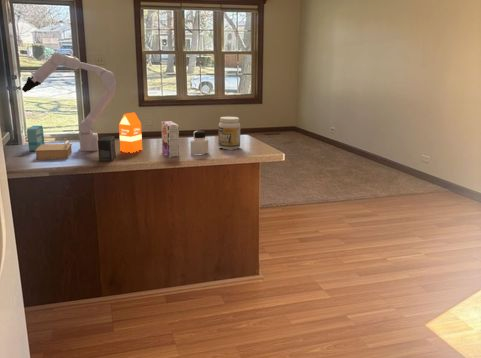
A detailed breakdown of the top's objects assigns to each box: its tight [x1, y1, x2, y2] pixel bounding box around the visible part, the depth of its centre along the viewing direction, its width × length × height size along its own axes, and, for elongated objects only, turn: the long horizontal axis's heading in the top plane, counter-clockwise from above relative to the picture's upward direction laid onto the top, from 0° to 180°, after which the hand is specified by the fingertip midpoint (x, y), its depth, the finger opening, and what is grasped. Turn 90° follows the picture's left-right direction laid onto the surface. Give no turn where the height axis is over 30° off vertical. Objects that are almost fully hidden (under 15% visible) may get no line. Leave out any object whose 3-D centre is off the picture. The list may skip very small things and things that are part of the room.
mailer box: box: [35, 146, 73, 161], centre depth 224 cm, size 14×14×4 cm
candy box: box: [160, 120, 180, 158], centre depth 230 cm, size 14×6×16 cm, turn 23°
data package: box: [26, 125, 45, 152], centre depth 238 cm, size 12×4×12 cm, turn 7°
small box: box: [97, 135, 117, 163], centre depth 219 cm, size 11×6×10 cm, turn 5°
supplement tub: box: [217, 116, 241, 150], centre depth 248 cm, size 12×12×17 cm
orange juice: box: [118, 112, 143, 154], centre depth 237 cm, size 8×9×20 cm
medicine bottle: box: [190, 130, 209, 156], centre depth 234 cm, size 7×7×12 cm
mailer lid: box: [34, 140, 73, 153], centre depth 224 cm, size 15×15×3 cm
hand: (25, 90), depth 226 cm, fingers open, 7 cm apart
